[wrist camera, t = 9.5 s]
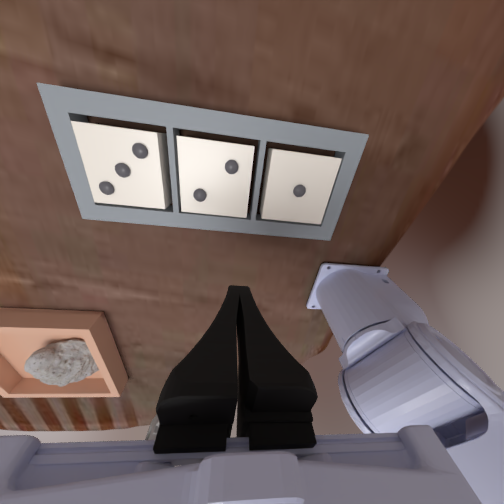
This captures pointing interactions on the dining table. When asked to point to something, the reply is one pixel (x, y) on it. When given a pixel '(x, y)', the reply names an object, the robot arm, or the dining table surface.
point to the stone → (61, 363)
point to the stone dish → (52, 331)
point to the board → (175, 118)
